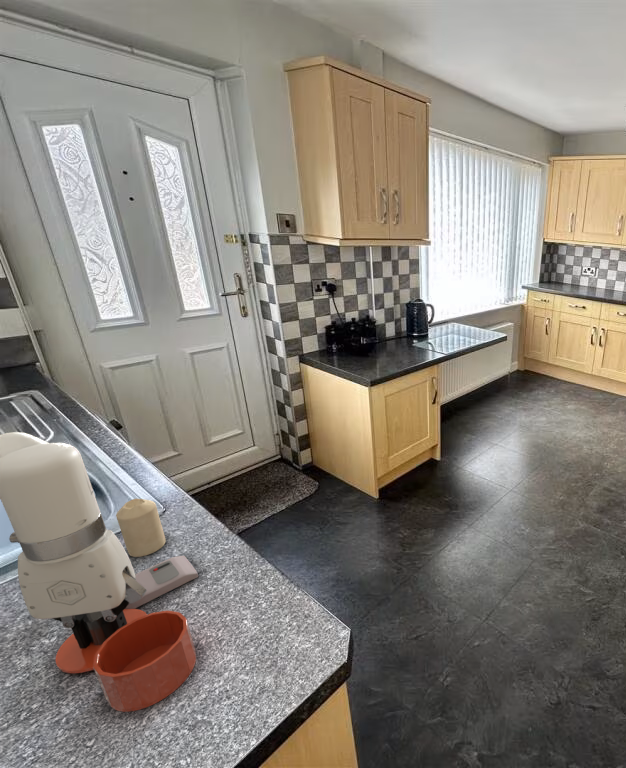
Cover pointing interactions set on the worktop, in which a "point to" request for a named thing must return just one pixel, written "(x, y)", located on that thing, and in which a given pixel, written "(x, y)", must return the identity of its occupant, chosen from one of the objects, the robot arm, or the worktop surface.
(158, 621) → the pot
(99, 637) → the lid
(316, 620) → the worktop surface
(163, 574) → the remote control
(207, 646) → the worktop surface
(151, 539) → the candle
